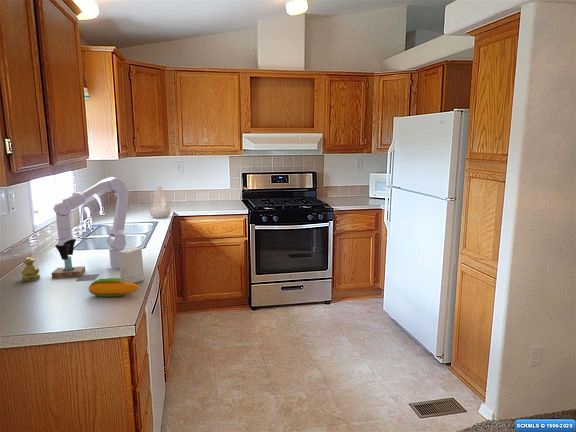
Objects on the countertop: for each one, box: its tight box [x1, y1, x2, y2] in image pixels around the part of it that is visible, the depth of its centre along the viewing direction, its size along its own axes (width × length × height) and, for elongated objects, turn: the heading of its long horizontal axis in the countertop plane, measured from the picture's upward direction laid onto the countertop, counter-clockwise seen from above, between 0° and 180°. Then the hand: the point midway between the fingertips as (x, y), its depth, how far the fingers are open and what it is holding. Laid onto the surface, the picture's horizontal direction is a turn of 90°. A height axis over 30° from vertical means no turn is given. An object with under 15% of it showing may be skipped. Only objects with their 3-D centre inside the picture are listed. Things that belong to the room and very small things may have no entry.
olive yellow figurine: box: [20, 257, 41, 283], centre depth 192 cm, size 7×7×10 cm
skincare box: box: [118, 246, 145, 284], centre depth 188 cm, size 8×6×15 cm
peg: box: [63, 255, 73, 271], centre depth 197 cm, size 3×3×9 cm
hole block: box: [51, 266, 86, 279], centre depth 198 cm, size 12×8×3 cm, turn 100°
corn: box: [88, 277, 140, 298], centre depth 173 cm, size 7×8×20 cm
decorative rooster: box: [149, 185, 171, 219], centre depth 335 cm, size 25×16×25 cm, turn 16°
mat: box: [75, 273, 100, 282], centre depth 194 cm, size 8×9×1 cm
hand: (67, 257), depth 196 cm, fingers open, 7 cm apart
